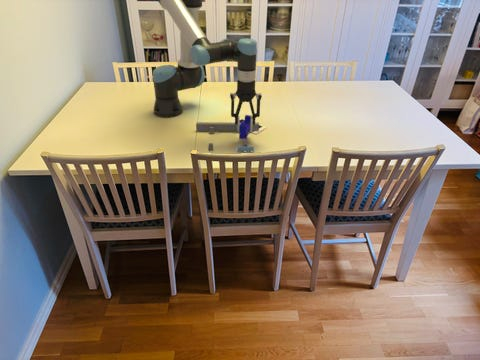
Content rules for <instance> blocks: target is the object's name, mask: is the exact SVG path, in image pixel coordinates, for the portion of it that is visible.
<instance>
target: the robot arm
mask: <svg viewBox="0 0 480 360" xmlns="http://www.w3.org/2000/svg"><path fill="white" fill-rule="evenodd" d="M157 1H158V3H159V5H160V6H161V8H162V9H164V10H165V11H167V13H168V14H169V16H170V17H171V19H172V20H173V22H174V24H175V25H176V27H177V29H178V30H179V31H180V34H179V35H180V37H179V38H180V42H179V44H180V45H179V46H180V59H178V60H177V66H175V65H174V64H164V65H160V66H157V67H156V68H154V69H153V71H152V82H153V89H154V96H155V101H154V105H153V114H154V115H155V116H157V117H160V118H174V117H178V116H180V115H182V114H183V106H182V103H181V101H180V98H179V94H178V93H179V91H186V90H189V89H195V88H197V87H198V88H199V87H201V85H203V83H204V81H205V78H206V75H205V69H204V67H203V66H207V65H210V64H215V63H221V62H226V61H233V62H235V63H237V69H236V71H237V75H236V78H237V81H236V82H237V83H236V91H235V92H234V93H232V92H230V94H229V98H230V101H231V102H230V117H232V118H234V119H235V125H237V131H238V132H237V133H239V122H240V118H241V117H240V116H239V115H240V112H241V108H242V105H243V103H249V107H250V111H251V121H250V132H252V126H253V125H255V123H256V118H259V117H261V116H260V115H261V100H262V96H263V95H262V93H260V92H256V79H257V78H256V77H257V76H256V75H257V57H258V55H257V54H258V45H257V44H258V43H257V41H256V39H253V38H247V37H246V38H240V39H239V40H238V41H237V40H234V39H232V38H223V39H222V40H220V41H218V42H217V41H216V42H211V41H210V40H209V39H208V37H207V36H206V35H205V33H204V31H203V30H202V28H201V27H200V25H199V20H200V19H199V15H200V14H199V12H200V9H201V8H202V7H203V1H205V0H157ZM236 98H238V104H237V107H236V110H235V100H236ZM254 98H256V111H255V108H254V105H253V99H254ZM255 112H256V113H255ZM250 132H249V133H250Z"/></svg>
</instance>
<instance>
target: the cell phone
mask: <svg viewBox="0 0 480 360" xmlns="http://www.w3.org/2000/svg"><path fill="white" fill-rule="evenodd" d="M239 118H240V122H239V123H241V122H242V121H245V118H241V117H239ZM229 122H235V118H234V119H231V121H229ZM266 129H267V127H266V126H263V125H260V124H259V131H252V132H249V134H253V135H258V134H259V133H261V132H263V131H264V130H266Z"/></svg>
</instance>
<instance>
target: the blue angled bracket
mask: <svg viewBox="0 0 480 360" xmlns="http://www.w3.org/2000/svg"><path fill="white" fill-rule="evenodd" d="M251 116H252V114H251V115H249V114H245V115H244V120H245V121H242V122H241V125H240V126H239V132H238V134H239V135H238V138H239V139H240V140H247V138H248V136H249V134H250V121H251Z"/></svg>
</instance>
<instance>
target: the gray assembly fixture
mask: <svg viewBox="0 0 480 360" xmlns="http://www.w3.org/2000/svg"><path fill="white" fill-rule="evenodd" d="M240 125H241V123H239V126H240ZM259 125H260V122H255V125H253V126H252V131H259ZM195 129H196V132H197V133H199V132H200V133H205V132H206V133H209V134H210V135H214V134H215V133H222V132H223V133H239V132H238V131H237V125H235V122H230V121H228V122H227V121H225V122H221V121H220V122H219V121H218V122H215V121H214V122H213V121H210V122H208V121H207V122H203V121H202V122H197V121H196V122H195ZM254 147H255V146H253V145H252V146H249V143H247V142H243V143H242V146H237V148H236V149H237V153H243V152H242V151H246V152H245V153H252V152H251V151H253V152H255V151H254ZM208 151H214V142H209V143H208ZM248 151H249V152H248Z"/></svg>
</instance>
